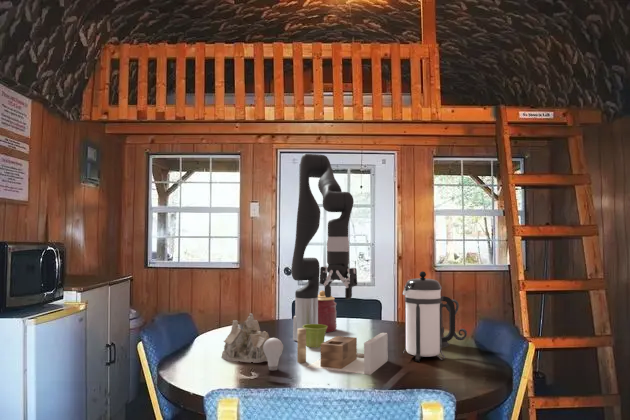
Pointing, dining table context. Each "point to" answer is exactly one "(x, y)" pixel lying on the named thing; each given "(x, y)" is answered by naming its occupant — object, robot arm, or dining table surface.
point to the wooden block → (360, 355)
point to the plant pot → (315, 334)
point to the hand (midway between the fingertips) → (338, 298)
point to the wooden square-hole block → (338, 352)
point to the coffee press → (425, 317)
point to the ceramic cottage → (245, 342)
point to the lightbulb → (273, 352)
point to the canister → (327, 311)
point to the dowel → (301, 345)
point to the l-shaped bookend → (365, 357)
